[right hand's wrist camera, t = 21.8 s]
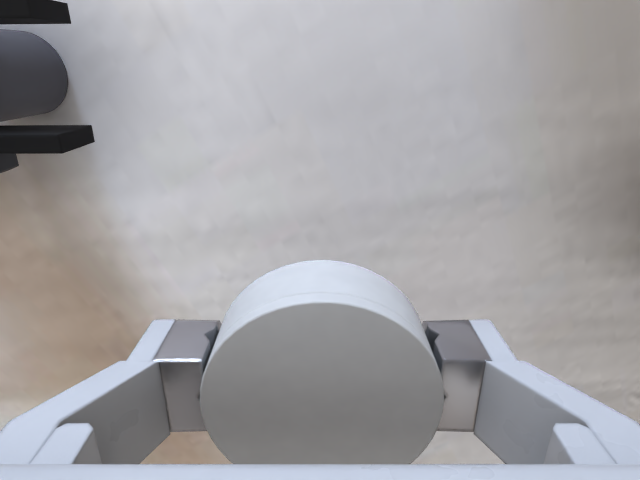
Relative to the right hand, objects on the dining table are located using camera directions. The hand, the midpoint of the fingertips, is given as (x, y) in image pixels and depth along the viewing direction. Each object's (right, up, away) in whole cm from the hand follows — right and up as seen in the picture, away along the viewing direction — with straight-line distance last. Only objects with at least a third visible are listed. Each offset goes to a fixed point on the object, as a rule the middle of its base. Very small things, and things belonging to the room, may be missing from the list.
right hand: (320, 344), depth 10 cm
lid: (0, -1, -2) cm, 2 cm away
